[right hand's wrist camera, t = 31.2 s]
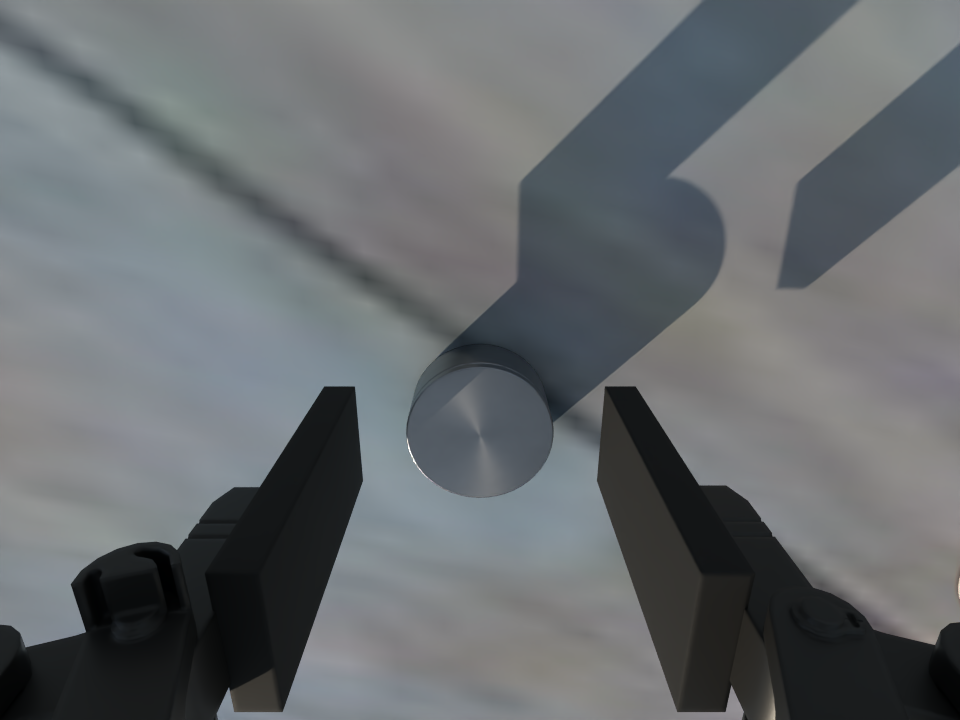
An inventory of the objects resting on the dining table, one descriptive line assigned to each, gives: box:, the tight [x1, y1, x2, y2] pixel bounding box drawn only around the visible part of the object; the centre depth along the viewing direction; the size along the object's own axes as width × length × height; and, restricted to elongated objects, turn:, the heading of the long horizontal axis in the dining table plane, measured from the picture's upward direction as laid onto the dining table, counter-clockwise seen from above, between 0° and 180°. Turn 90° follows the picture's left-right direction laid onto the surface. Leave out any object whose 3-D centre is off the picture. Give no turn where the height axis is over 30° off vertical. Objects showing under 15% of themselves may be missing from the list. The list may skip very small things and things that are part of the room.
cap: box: [406, 344, 553, 498], centre depth 15 cm, size 4×4×2 cm
